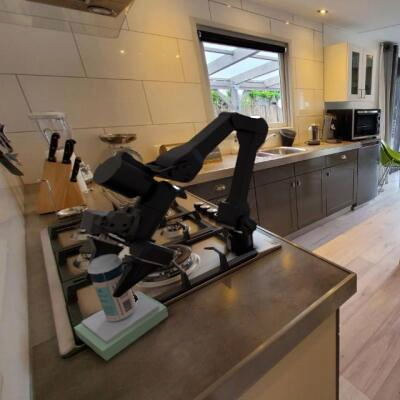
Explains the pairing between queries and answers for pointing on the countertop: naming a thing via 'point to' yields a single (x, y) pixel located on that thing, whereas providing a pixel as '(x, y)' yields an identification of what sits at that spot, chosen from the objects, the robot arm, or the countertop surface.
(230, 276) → the countertop surface
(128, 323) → the kitchen scale
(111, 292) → the white canister
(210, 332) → the countertop surface
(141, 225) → the robot arm
